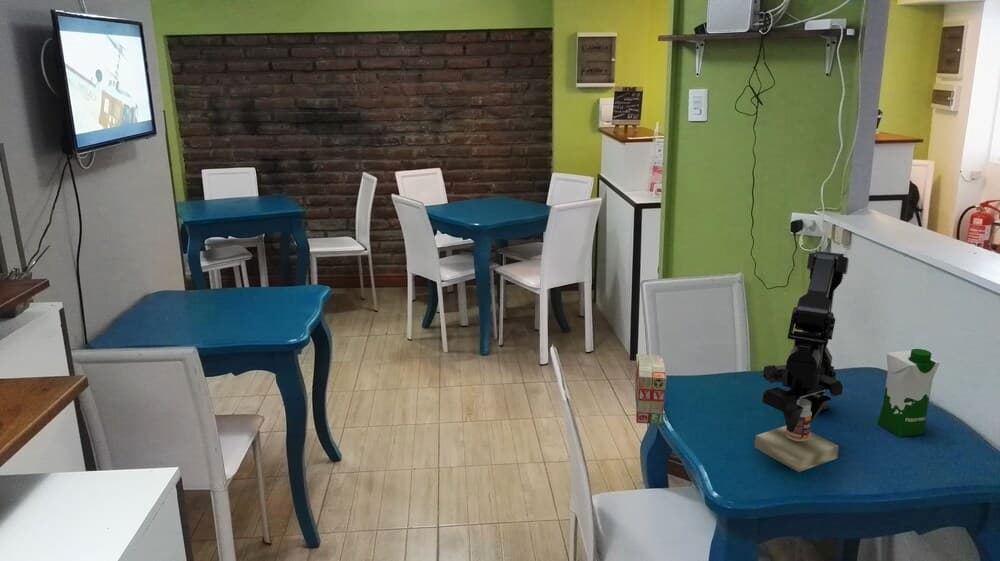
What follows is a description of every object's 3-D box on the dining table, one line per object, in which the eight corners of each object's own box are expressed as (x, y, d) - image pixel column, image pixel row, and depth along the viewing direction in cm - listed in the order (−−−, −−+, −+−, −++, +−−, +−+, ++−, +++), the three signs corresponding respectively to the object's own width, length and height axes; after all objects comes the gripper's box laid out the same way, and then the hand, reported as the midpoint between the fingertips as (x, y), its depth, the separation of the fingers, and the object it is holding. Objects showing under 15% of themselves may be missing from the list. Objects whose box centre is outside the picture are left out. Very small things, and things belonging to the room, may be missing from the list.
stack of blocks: (634, 386, 198) (636, 342, 195) (658, 388, 197) (661, 344, 194) (636, 423, 178) (639, 375, 174) (663, 425, 177) (666, 377, 173)
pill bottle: (806, 444, 160) (811, 408, 158) (783, 438, 162) (787, 403, 160) (810, 434, 164) (815, 399, 161) (788, 429, 166) (792, 394, 164)
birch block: (791, 435, 172) (793, 423, 171) (837, 458, 162) (838, 445, 161) (754, 447, 166) (755, 435, 166) (798, 472, 156) (800, 459, 155)
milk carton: (898, 439, 170) (912, 357, 164) (870, 421, 178) (883, 343, 173) (931, 435, 172) (946, 354, 166) (902, 418, 180) (915, 340, 175)
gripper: (805, 341, 169) (797, 404, 174) (745, 356, 161) (739, 422, 165) (848, 358, 160) (839, 424, 164) (787, 375, 151) (779, 444, 156)
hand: (798, 428), depth 163 cm, fingers closed on pill bottle, 5 cm apart
